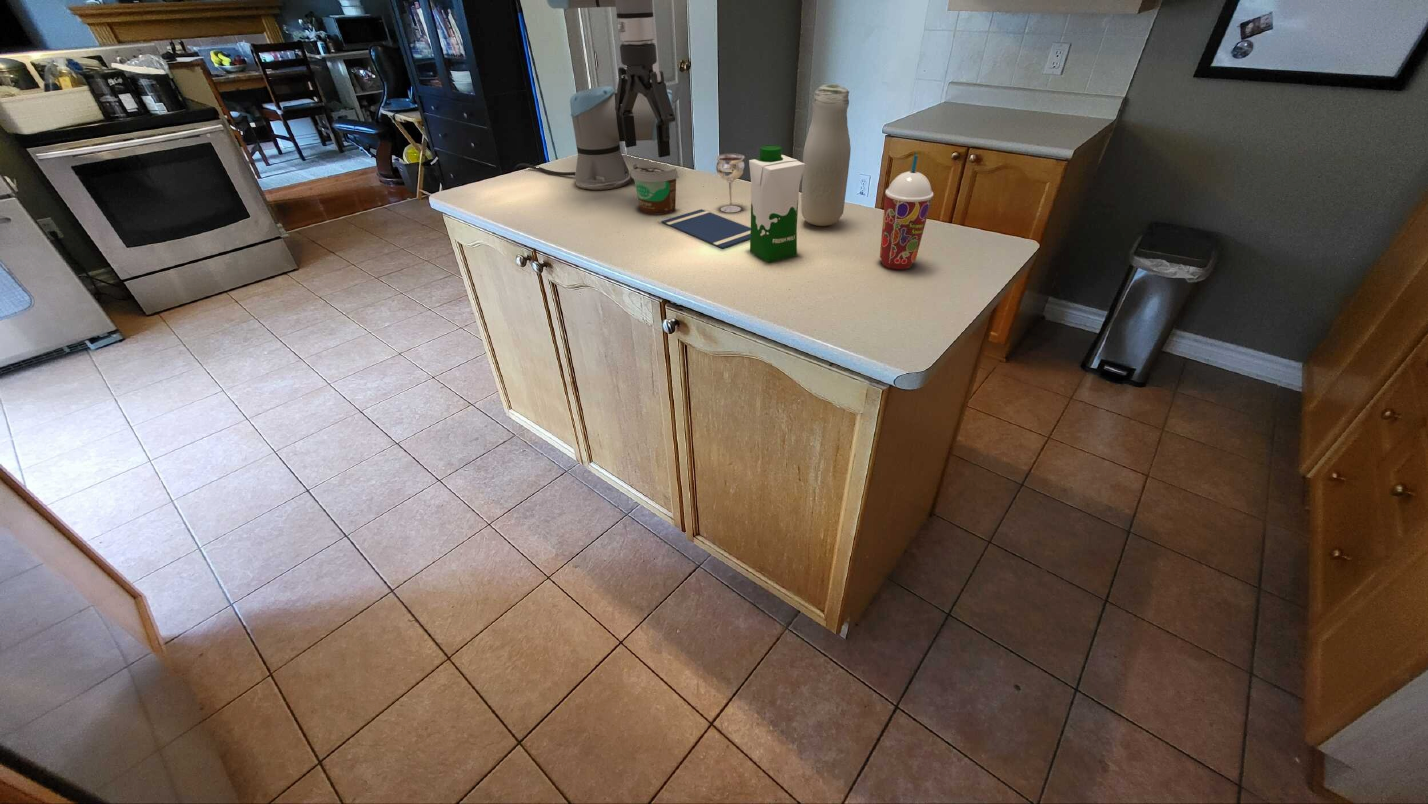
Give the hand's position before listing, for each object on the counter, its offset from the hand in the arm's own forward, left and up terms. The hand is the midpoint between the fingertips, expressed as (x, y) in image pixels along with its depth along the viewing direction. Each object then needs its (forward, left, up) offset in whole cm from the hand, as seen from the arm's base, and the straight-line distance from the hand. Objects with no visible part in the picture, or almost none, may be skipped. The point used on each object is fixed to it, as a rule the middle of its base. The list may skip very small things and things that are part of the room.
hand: (647, 151), depth 131 cm
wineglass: (+12, +15, -14) cm, 24 cm away
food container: (0, 0, -14) cm, 14 cm away
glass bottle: (+34, +23, -14) cm, 43 cm away
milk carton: (+39, +3, -14) cm, 41 cm away
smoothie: (+59, +17, -14) cm, 63 cm away
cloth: (+19, +3, -14) cm, 24 cm away
